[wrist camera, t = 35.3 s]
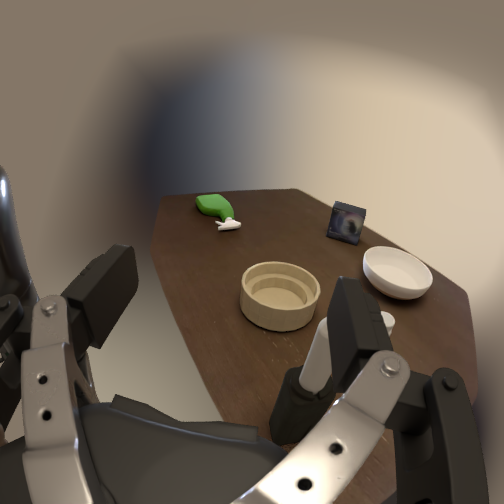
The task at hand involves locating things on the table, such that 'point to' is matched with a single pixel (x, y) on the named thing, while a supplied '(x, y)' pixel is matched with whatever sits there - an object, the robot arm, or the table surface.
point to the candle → (304, 393)
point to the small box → (346, 222)
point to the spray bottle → (218, 210)
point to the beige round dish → (279, 296)
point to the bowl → (396, 273)
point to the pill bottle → (388, 321)
